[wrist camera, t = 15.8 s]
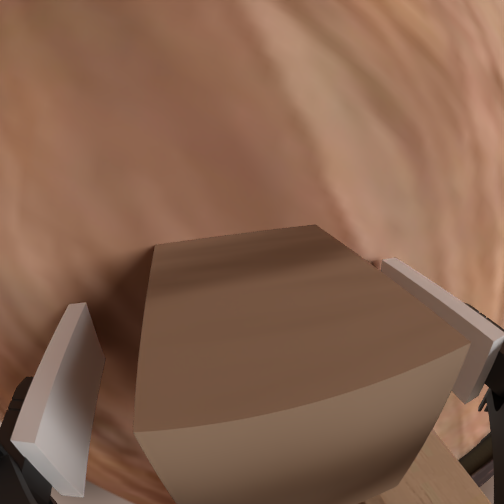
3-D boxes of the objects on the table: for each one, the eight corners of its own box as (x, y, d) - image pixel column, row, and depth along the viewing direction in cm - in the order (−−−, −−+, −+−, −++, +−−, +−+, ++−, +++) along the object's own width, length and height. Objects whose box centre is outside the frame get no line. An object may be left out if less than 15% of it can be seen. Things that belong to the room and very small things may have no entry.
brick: (155, 244, 11) (133, 431, 4) (314, 224, 12) (471, 342, 5) (182, 372, 13) (204, 541, 6) (310, 348, 14) (397, 486, 7)
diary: (425, 503, 41) (435, 519, 37) (432, 472, 31) (448, 495, 27) (493, 452, 42) (504, 466, 37) (520, 398, 32) (537, 416, 27)
